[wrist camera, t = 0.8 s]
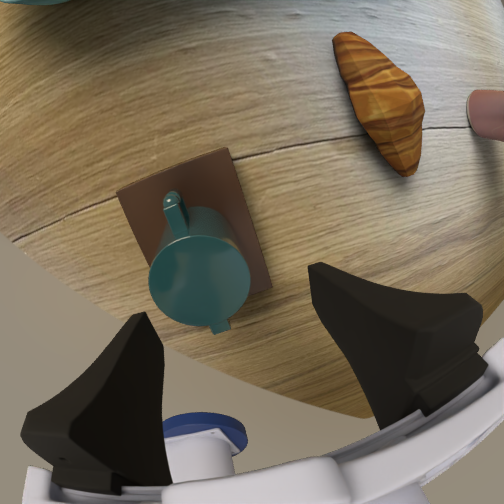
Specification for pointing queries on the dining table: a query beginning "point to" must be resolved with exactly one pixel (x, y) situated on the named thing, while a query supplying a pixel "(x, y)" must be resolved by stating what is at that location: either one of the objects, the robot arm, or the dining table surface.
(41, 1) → the casserole dish
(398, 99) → the croissant
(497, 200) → the dining table surface
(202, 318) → the teal tabbed cylinder
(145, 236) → the plate
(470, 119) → the beverage can
